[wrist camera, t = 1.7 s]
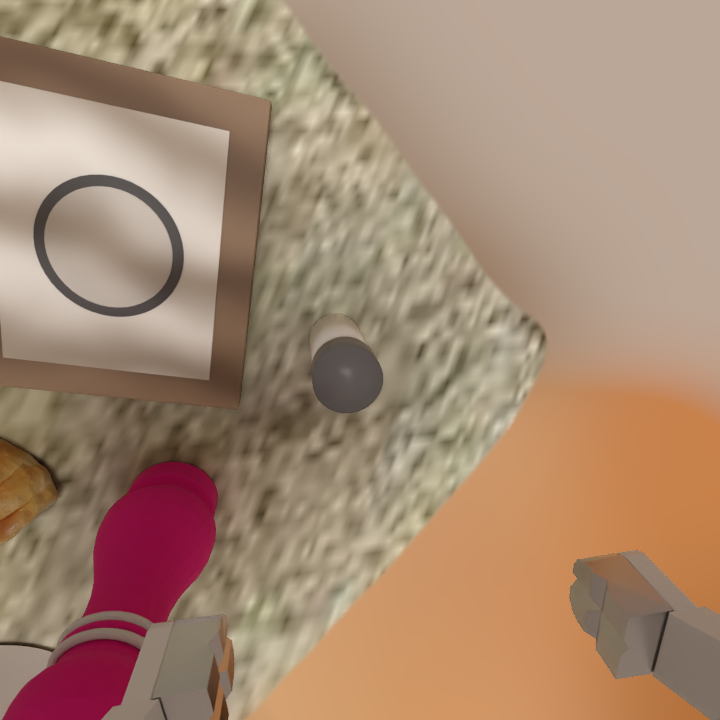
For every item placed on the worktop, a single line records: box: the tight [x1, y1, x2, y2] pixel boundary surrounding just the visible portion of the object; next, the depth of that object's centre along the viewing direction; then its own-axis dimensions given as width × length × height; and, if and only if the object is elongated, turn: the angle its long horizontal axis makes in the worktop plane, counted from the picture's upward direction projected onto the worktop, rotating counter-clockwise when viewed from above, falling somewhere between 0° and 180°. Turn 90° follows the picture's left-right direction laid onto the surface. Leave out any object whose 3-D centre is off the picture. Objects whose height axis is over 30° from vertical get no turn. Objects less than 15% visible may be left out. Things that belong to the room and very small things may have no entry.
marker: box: [309, 314, 383, 413], centre depth 27 cm, size 4×4×8 cm
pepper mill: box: [2, 462, 217, 720], centre depth 24 cm, size 7×7×20 cm
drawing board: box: [0, 37, 272, 409], centre depth 26 cm, size 19×16×2 cm
